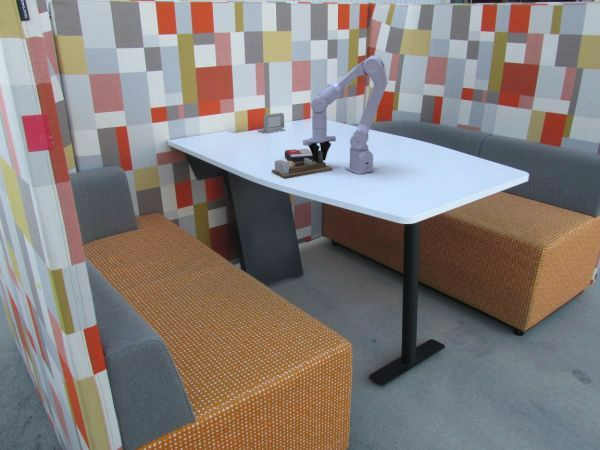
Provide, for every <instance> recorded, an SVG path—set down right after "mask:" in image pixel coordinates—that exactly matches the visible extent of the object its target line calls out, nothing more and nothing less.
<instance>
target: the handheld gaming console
mask: <svg viewBox="0 0 600 450" xmlns="http://www.w3.org/2000/svg"><path fill="white" fill-rule="evenodd" d="M279 131H280V132H285V131H286V129H285V114H284V113H283V112H277V113H271V114H270V113H269V114H265V115H263V128H261V129H257V132H258V133H261V134H264V133H265V135H266V133H267V134H272V133H278V132H279ZM280 132H279V133H280Z"/></svg>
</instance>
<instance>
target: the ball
mask: <svg viewBox="0 0 600 450" xmlns="http://www.w3.org/2000/svg"><path fill="white" fill-rule="evenodd" d="M286 162H287V163H289V164H290V168H293V167H295V163H294V162H292V161H288V160H287V161H286Z"/></svg>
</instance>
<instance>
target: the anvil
mask: <svg viewBox="0 0 600 450" xmlns="http://www.w3.org/2000/svg"><path fill="white" fill-rule="evenodd" d="M287 162H288V161H285V160H282V159H279V160H275V161H274V169H275V171H276V172H278V173H280V174H283V175H286V174H289V171H290V164H289V163H287Z"/></svg>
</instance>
